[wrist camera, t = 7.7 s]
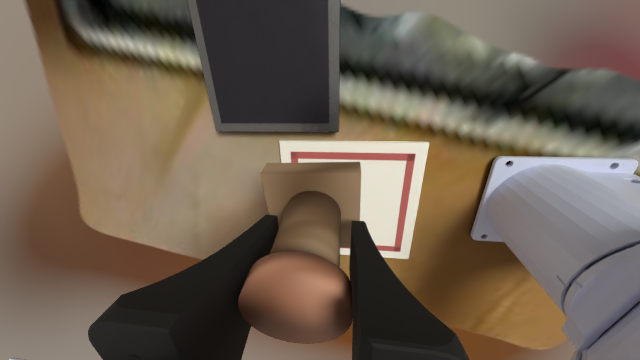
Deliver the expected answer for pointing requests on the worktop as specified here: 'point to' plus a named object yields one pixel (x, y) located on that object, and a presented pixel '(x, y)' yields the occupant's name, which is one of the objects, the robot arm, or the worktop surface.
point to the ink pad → (270, 63)
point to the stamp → (305, 253)
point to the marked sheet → (375, 184)
